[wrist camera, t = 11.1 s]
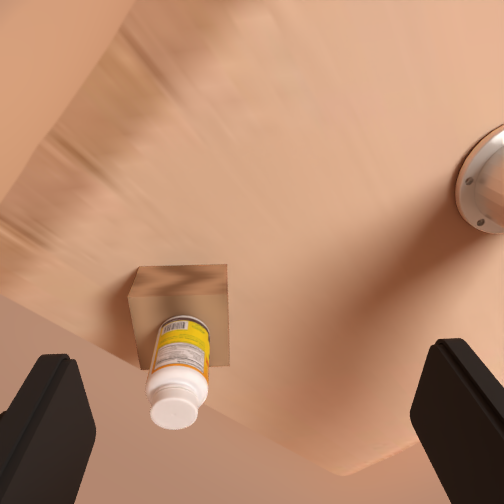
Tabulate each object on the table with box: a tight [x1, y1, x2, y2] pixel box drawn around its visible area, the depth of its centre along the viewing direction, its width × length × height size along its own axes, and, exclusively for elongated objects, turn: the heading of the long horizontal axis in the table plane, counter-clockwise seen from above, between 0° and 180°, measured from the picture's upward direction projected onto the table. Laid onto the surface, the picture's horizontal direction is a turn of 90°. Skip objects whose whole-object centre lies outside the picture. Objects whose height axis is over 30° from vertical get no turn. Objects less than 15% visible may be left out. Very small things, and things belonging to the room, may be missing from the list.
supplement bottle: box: [145, 315, 210, 430], centre depth 36 cm, size 6×6×10 cm
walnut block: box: [127, 264, 229, 370], centre depth 43 cm, size 10×10×6 cm
